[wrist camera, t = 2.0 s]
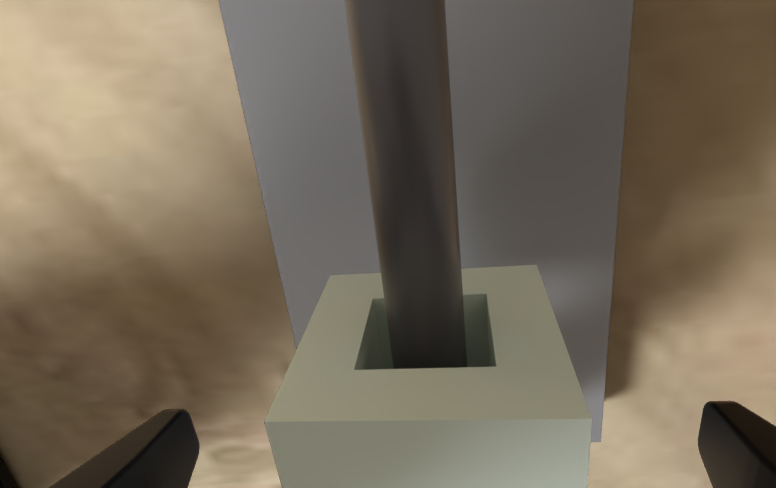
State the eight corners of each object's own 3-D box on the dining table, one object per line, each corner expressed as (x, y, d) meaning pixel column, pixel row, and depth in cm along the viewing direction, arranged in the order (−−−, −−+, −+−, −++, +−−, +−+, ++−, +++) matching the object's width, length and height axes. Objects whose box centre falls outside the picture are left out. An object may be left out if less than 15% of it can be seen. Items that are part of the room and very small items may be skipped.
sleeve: (535, 427, 11) (578, 627, 7) (357, 428, 12) (317, 615, 8) (536, 265, 9) (592, 418, 6) (329, 275, 10) (264, 421, 6)
